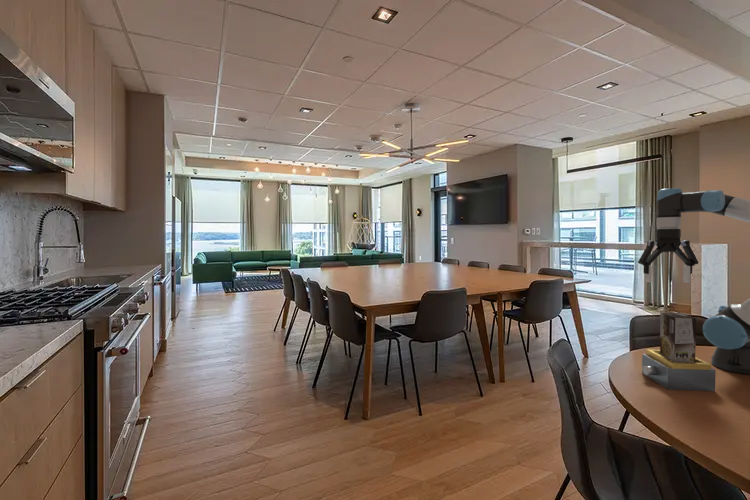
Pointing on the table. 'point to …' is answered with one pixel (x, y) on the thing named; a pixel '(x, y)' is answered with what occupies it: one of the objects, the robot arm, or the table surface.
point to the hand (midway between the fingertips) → (667, 282)
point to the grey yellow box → (678, 372)
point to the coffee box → (677, 337)
